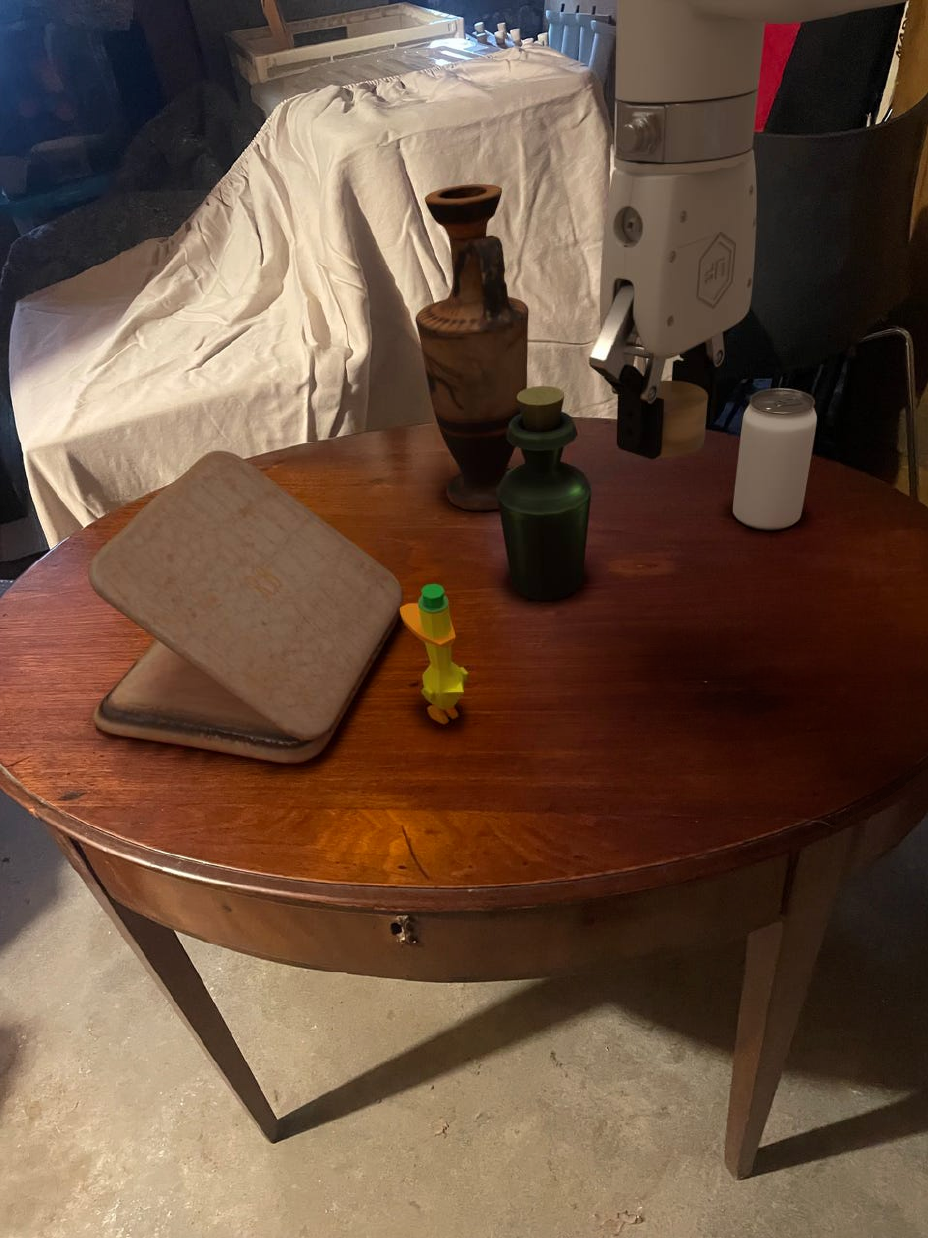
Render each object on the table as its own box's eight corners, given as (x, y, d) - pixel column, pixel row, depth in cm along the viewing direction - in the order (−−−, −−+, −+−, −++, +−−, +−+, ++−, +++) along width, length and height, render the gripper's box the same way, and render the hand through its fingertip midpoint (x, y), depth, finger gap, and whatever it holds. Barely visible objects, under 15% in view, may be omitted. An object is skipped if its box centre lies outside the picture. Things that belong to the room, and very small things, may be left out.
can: (720, 506, 89) (732, 393, 82) (778, 494, 90) (795, 381, 82) (752, 537, 84) (767, 419, 76) (814, 524, 84) (834, 407, 77)
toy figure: (399, 701, 69) (377, 574, 62) (435, 681, 71) (418, 555, 63) (449, 746, 64) (433, 615, 57) (487, 724, 66) (475, 593, 59)
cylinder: (708, 426, 60) (712, 381, 58) (699, 460, 57) (703, 413, 55) (632, 421, 62) (634, 378, 60) (618, 454, 58) (619, 409, 56)
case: (321, 778, 63) (274, 596, 53) (80, 734, 69) (-2, 564, 59) (416, 612, 78) (392, 447, 69) (212, 588, 84) (164, 434, 75)
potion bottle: (603, 597, 78) (606, 406, 67) (515, 615, 77) (503, 423, 66) (575, 551, 84) (573, 369, 74) (493, 566, 83) (479, 385, 73)
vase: (420, 486, 98) (383, 193, 80) (507, 460, 101) (490, 173, 83) (461, 528, 90) (430, 212, 72) (554, 499, 93) (546, 190, 75)
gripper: (645, 166, 42) (632, 503, 52) (824, 109, 50) (782, 407, 61) (528, 157, 46) (539, 468, 57) (711, 106, 55) (691, 383, 66)
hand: (665, 433), depth 59 cm, fingers closed on cylinder, 5 cm apart
